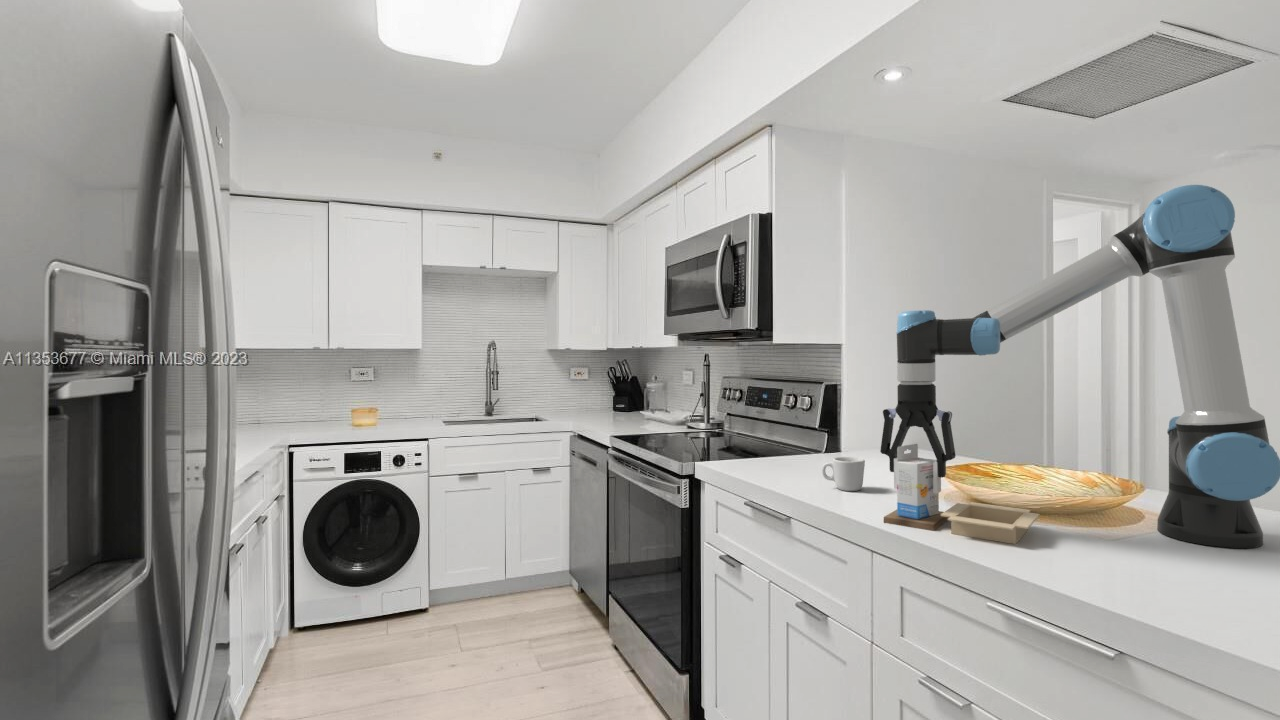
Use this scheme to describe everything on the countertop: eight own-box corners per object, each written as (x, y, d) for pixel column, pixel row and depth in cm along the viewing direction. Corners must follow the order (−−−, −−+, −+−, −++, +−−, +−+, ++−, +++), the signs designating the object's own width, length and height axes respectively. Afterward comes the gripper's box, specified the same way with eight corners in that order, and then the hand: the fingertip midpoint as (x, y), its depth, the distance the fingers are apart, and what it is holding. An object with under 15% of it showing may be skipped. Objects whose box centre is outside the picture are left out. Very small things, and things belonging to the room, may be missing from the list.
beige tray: (1041, 528, 130) (1041, 511, 130) (1025, 549, 117) (1025, 530, 117) (960, 516, 140) (960, 500, 140) (936, 534, 127) (936, 517, 127)
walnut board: (950, 518, 139) (950, 512, 139) (933, 530, 130) (933, 524, 130) (903, 511, 146) (903, 505, 146) (883, 522, 137) (883, 516, 137)
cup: (820, 490, 168) (820, 460, 168) (823, 484, 175) (823, 455, 175) (864, 493, 164) (864, 462, 164) (865, 487, 171) (865, 457, 171)
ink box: (918, 520, 133) (917, 449, 133) (896, 516, 137) (895, 446, 137) (940, 513, 138) (938, 445, 138) (918, 509, 142) (916, 443, 142)
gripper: (972, 383, 134) (973, 493, 134) (875, 381, 147) (876, 481, 147) (963, 385, 128) (963, 499, 128) (862, 382, 141) (863, 486, 142)
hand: (917, 489), depth 138 cm, fingers open, 7 cm apart
